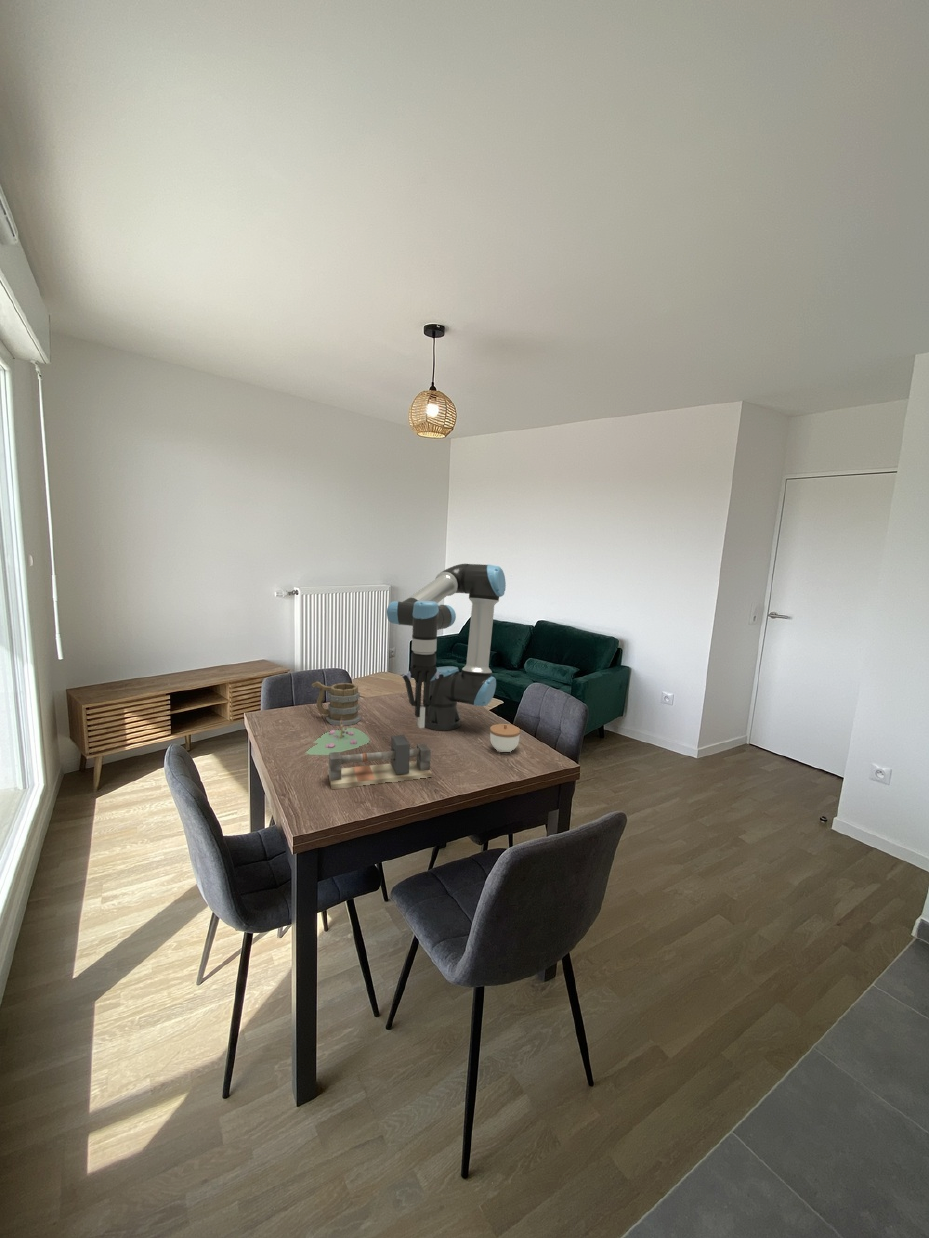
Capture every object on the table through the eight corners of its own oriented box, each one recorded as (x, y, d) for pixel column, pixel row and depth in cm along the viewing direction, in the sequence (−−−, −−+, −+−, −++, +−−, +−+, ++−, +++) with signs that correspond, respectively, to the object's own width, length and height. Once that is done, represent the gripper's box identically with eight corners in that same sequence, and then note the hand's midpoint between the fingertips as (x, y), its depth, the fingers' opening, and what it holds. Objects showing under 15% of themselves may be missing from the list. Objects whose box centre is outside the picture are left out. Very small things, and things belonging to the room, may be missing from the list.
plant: (343, 762, 165) (344, 736, 164) (289, 752, 171) (289, 726, 170) (379, 736, 189) (379, 713, 187) (330, 728, 195) (330, 706, 193)
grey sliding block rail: (423, 764, 165) (424, 740, 164) (431, 777, 156) (432, 753, 154) (328, 774, 155) (328, 749, 154) (331, 789, 145) (331, 763, 144)
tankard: (365, 717, 207) (365, 681, 205) (351, 727, 195) (351, 689, 193) (320, 711, 212) (320, 676, 210) (304, 721, 200) (304, 684, 198)
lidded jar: (523, 747, 183) (524, 722, 181) (513, 758, 173) (514, 732, 172) (495, 741, 187) (496, 717, 186) (484, 751, 177) (485, 726, 176)
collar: (403, 762, 161) (403, 734, 160) (409, 773, 154) (409, 744, 153) (390, 763, 160) (391, 735, 159) (396, 774, 153) (396, 745, 151)
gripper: (440, 649, 160) (437, 721, 163) (400, 649, 155) (397, 724, 158) (448, 653, 153) (444, 729, 156) (405, 654, 148) (403, 732, 151)
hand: (420, 726), depth 157 cm, fingers closed
